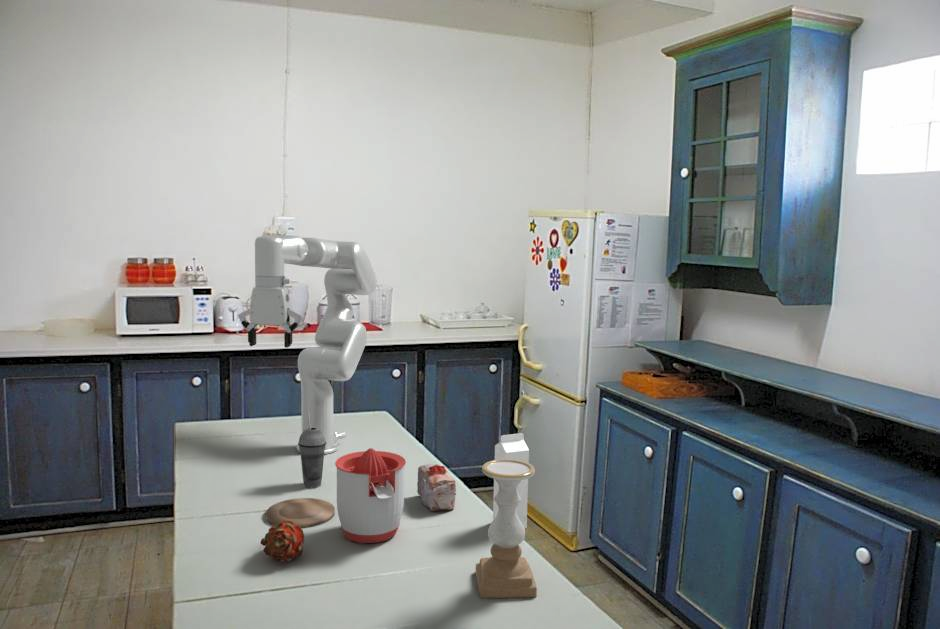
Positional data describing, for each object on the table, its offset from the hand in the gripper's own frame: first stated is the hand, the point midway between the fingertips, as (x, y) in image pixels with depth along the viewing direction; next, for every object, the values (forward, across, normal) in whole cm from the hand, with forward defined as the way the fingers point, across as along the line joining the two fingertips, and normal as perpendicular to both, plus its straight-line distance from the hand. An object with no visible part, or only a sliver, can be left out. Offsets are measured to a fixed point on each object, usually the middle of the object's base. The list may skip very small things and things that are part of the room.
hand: (270, 346), depth 202 cm
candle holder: (+36, -67, +53) cm, 93 cm away
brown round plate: (+36, -17, +26) cm, 47 cm away
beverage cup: (+36, -14, +6) cm, 39 cm away
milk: (+36, -67, +25) cm, 80 cm away
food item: (+36, -48, +14) cm, 61 cm away
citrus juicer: (+36, -36, +35) cm, 62 cm away
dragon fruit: (+37, -20, +48) cm, 64 cm away
